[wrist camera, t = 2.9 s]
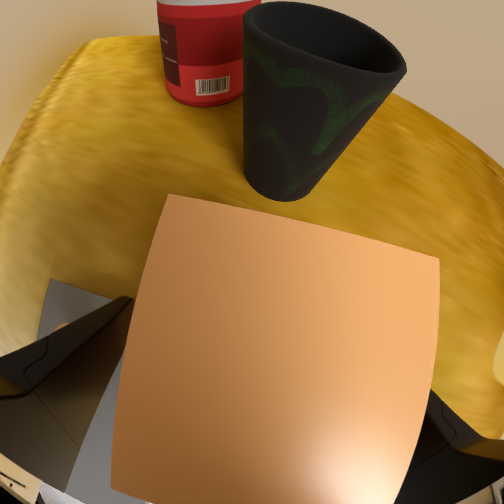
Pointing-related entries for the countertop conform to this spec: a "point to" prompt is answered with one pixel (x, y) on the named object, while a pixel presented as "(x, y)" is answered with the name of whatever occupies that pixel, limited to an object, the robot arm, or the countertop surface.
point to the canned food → (203, 49)
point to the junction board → (101, 428)
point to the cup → (307, 92)
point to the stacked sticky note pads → (272, 362)
